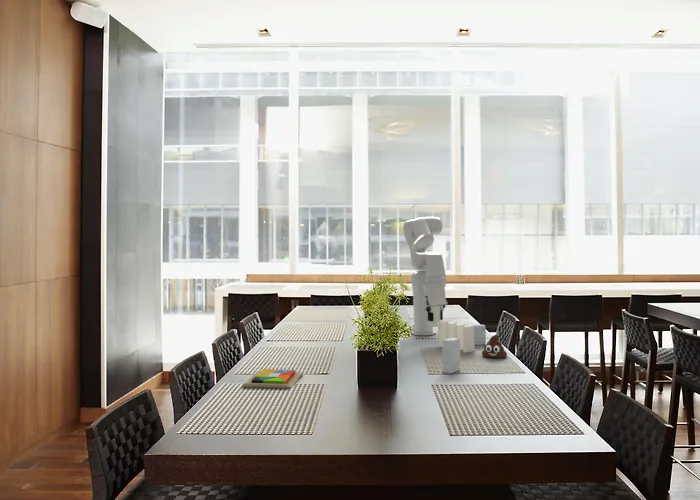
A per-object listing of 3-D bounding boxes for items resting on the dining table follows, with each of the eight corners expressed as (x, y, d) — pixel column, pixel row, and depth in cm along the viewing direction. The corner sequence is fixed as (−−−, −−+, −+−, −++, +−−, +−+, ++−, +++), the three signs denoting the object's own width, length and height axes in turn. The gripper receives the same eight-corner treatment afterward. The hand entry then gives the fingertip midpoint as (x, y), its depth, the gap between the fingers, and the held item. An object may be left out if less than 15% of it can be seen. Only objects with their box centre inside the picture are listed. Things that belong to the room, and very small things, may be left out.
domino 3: (446, 348, 259) (445, 323, 259) (454, 346, 262) (454, 322, 262) (448, 348, 258) (448, 323, 258) (457, 347, 261) (456, 322, 261)
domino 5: (463, 352, 251) (462, 326, 250) (471, 350, 254) (471, 325, 253) (466, 352, 250) (465, 326, 249) (474, 351, 252) (474, 325, 252)
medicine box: (484, 343, 269) (484, 324, 268) (486, 345, 264) (485, 326, 264) (467, 343, 269) (466, 324, 269) (468, 345, 265) (467, 326, 265)
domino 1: (430, 326, 267) (429, 302, 267) (438, 325, 270) (437, 301, 270) (432, 327, 266) (432, 302, 266) (440, 326, 269) (440, 302, 269)
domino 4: (454, 350, 255) (454, 324, 255) (462, 348, 258) (462, 323, 258) (457, 350, 254) (456, 325, 253) (465, 349, 257) (465, 324, 256)
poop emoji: (508, 355, 242) (508, 333, 242) (504, 360, 234) (504, 336, 234) (484, 354, 246) (483, 331, 246) (479, 358, 239) (479, 335, 238)
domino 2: (438, 346, 264) (437, 322, 263) (446, 345, 267) (445, 320, 266) (440, 347, 262) (440, 322, 262) (448, 345, 265) (448, 321, 265)
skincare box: (450, 368, 222) (449, 337, 221) (460, 370, 219) (460, 338, 218) (441, 372, 217) (441, 339, 217) (452, 374, 214) (451, 340, 214)
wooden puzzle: (241, 389, 202) (240, 379, 202) (258, 375, 221) (258, 366, 221) (290, 390, 199) (290, 380, 199) (304, 376, 218) (303, 367, 218)
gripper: (442, 279, 275) (443, 317, 276) (414, 281, 266) (415, 321, 266) (453, 279, 269) (454, 319, 270) (425, 282, 260) (426, 323, 260)
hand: (435, 319), depth 268 cm, fingers closed on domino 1, 4 cm apart
